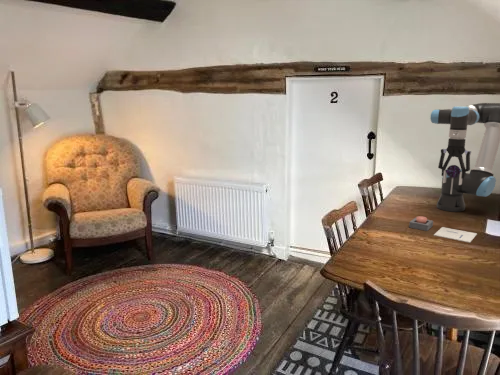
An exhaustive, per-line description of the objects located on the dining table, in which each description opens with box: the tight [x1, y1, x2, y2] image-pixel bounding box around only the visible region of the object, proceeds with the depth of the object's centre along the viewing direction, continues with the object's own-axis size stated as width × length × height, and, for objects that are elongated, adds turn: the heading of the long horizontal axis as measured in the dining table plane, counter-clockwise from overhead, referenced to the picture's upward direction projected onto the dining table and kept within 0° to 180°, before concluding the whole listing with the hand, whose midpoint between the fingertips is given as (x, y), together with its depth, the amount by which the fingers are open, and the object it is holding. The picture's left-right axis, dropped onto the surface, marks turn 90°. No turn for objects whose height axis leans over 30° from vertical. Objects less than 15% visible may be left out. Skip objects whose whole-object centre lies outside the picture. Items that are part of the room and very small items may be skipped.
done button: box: [415, 215, 428, 224], centre depth 207 cm, size 5×5×3 cm
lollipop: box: [445, 164, 461, 194], centre depth 203 cm, size 7×7×15 cm
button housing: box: [408, 217, 434, 232], centre depth 208 cm, size 9×9×3 cm
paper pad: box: [433, 226, 478, 243], centre depth 196 cm, size 14×16×1 cm
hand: (452, 183), depth 204 cm, fingers closed on lollipop, 7 cm apart
